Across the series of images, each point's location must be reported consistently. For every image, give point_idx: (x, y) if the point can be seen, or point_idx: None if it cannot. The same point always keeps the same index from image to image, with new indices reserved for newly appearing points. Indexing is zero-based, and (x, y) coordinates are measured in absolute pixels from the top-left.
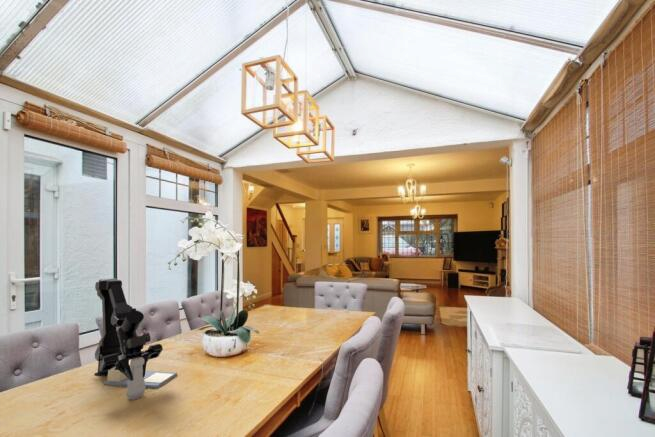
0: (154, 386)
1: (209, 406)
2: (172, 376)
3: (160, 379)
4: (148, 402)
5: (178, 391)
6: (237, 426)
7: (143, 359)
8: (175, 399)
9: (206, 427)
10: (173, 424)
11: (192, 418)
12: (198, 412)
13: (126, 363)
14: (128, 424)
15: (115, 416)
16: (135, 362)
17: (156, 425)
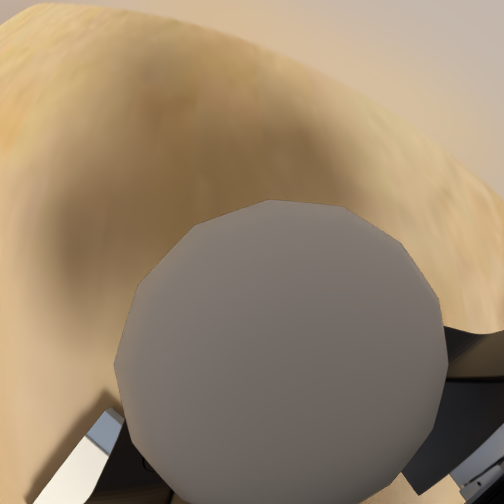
0: (122, 423)
1: (5, 91)
2: (40, 496)
3: (91, 486)
4: (164, 220)
5: (16, 279)
6: (33, 13)
7: (131, 321)
8: (49, 187)
9: (72, 13)
10: (125, 31)
11: (72, 44)
12: (43, 66)
13: (473, 357)
14: (255, 73)
15: (316, 153)
16: (337, 208)
17: (168, 38)
